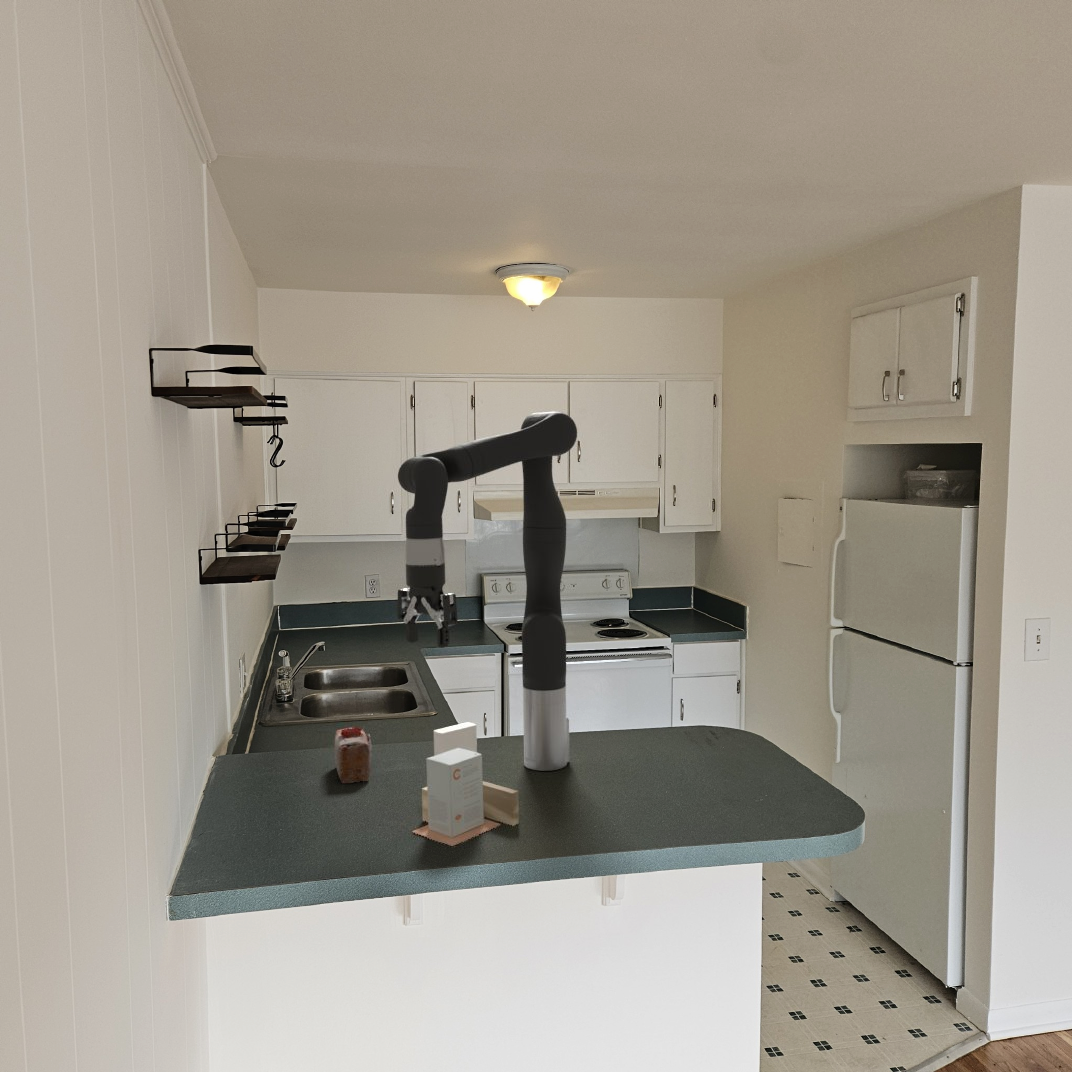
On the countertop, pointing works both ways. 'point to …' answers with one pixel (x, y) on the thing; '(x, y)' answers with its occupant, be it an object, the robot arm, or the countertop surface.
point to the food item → (353, 755)
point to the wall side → (424, 804)
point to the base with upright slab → (455, 738)
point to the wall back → (500, 803)
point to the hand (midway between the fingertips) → (427, 644)
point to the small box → (455, 791)
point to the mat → (459, 838)
